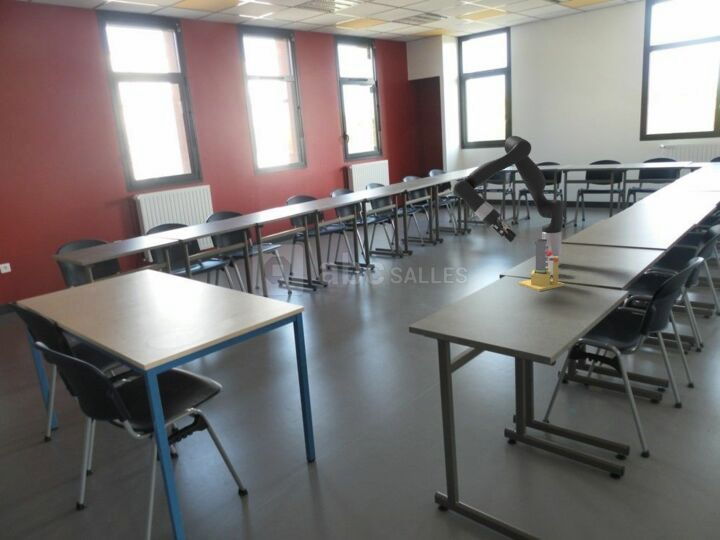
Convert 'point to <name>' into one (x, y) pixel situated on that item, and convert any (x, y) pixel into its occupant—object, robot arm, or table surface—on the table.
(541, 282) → the stand base
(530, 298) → the table surface
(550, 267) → the pill bottle
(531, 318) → the table surface
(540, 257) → the column
